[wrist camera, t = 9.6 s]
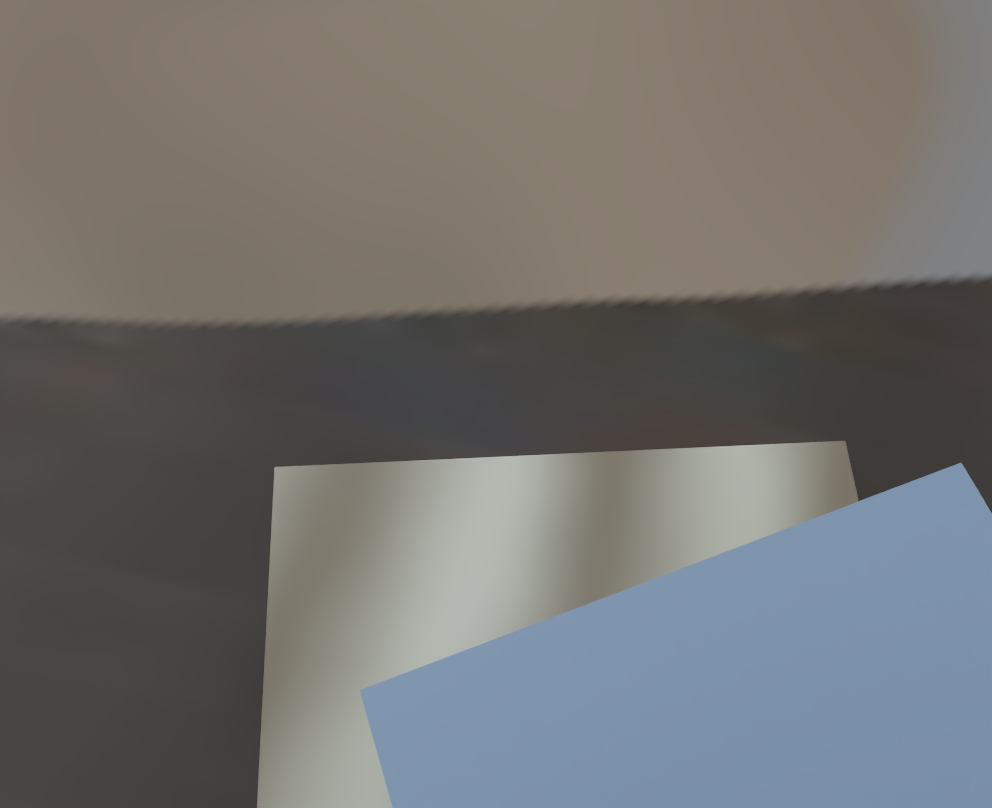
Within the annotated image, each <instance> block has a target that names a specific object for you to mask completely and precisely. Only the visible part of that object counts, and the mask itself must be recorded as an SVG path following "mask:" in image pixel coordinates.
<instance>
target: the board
mask: <svg viewBox="0 0 992 808" xmlns="http://www.w3.org/2000/svg"><path fill="white" fill-rule="evenodd" d="M856 502H859V501H858V496H857V492H856V487H855V483H854V478H853V474H852V469H851V465H850V461H849V456H848V452H847V447H846V443H845V441H832V442H810V443H789V444H767V445H745V446H723V447H702V448H680V449H658V450H637V451H615V452H593V453H572V454H550V455H528V456H506V457H485V458H463V459H441V460H420V461H398V462H376V463H354V464H333V465H311V466H289V467H275V471H274V491H273V510H272V529H271V548H270V568H269V587H268V606H267V625H266V645H265V664H264V683H263V702H262V722H261V741H260V760H259V779H258V799H257V808H393V807H392V803H391V800H390V796H389V793H388V789H387V786H386V782H385V779H384V775H383V771H382V768H381V764H380V761H379V757H378V754H377V750H376V747H375V743H374V739H373V736H372V732H371V729H370V725H369V722H368V718H367V715H366V711H365V707H364V704H363V700H362V697H361V693H360V690H361V689H364V688H367V687H369V686H372V685H375V684H377V683H380V682H383V681H385V680H388V679H390V678H393V677H396V676H398V675H401V674H404V673H406V672H409V671H412V670H414V669H417V668H420V667H422V666H425V665H427V664H430V663H433V662H435V661H438V660H441V659H443V658H446V657H449V656H451V655H454V654H457V653H459V652H462V651H465V650H467V649H470V648H472V647H475V646H478V645H480V644H483V643H486V642H488V641H491V640H494V639H496V638H499V637H502V636H504V635H507V634H509V633H512V632H515V631H517V630H520V629H523V628H525V627H528V626H531V625H533V624H536V623H539V622H541V621H544V620H547V619H549V618H552V617H554V616H557V615H560V614H562V613H565V612H568V611H570V610H573V609H576V608H578V607H581V606H584V605H586V604H589V603H591V602H594V601H597V600H599V599H602V598H605V597H607V596H610V595H613V594H615V593H618V592H621V591H623V590H626V589H629V588H631V587H634V586H636V585H639V584H642V583H644V582H647V581H650V580H652V579H655V578H658V577H660V576H663V575H666V574H668V573H671V572H673V571H676V570H679V569H681V568H684V567H687V566H689V565H692V564H695V563H697V562H700V561H703V560H705V559H708V558H711V557H713V556H716V555H718V554H721V553H724V552H726V551H729V550H732V549H734V548H737V547H740V546H742V545H745V544H748V543H750V542H753V541H755V540H758V539H761V538H763V537H766V536H769V535H771V534H774V533H777V532H779V531H782V530H785V529H787V528H790V527H792V526H795V525H798V524H800V523H803V522H806V521H808V520H811V519H814V518H816V517H819V516H822V515H824V514H827V513H830V512H832V511H835V510H837V509H840V508H843V507H845V506H848V505H851V504H853V503H856Z"/></svg>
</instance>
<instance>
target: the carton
mask: <svg viewBox="0 0 992 808" xmlns="http://www.w3.org/2000/svg"><path fill="white" fill-rule="evenodd" d="M360 693H361V697H362V700H363V704H364V707H365V711H366V715H367V718H368V722H369V725H370V729H371V732H372V736H373V739H374V743H375V747H376V750H377V754H378V757H379V761H380V764H381V768H382V771H383V775H384V779H385V782H386V786H387V789H388V793H389V796H390V800H391V803H392V807H393V808H992V513H991V511H990V510H989V508H988V506H987V505H986V503H985V501H984V500H983V498H982V496H981V495H980V493H979V491H978V490H977V488H976V486H975V485H974V483H973V481H972V480H971V478H970V476H969V475H968V473H967V471H966V470H965V468H964V466H963V465H962V463H959V464H956V465H954V466H951V467H949V468H946V469H943V470H941V471H938V472H935V473H933V474H930V475H927V476H925V477H922V478H919V479H917V480H914V481H912V482H909V483H906V484H904V485H901V486H898V487H896V488H893V489H890V490H888V491H885V492H882V493H880V494H877V495H874V496H872V497H869V498H867V499H864V500H861V501H859V502H856V503H853V504H851V505H848V506H845V507H843V508H840V509H837V510H835V511H832V512H830V513H827V514H824V515H822V516H819V517H816V518H814V519H811V520H808V521H806V522H803V523H800V524H798V525H795V526H792V527H790V528H787V529H785V530H782V531H779V532H777V533H774V534H771V535H769V536H766V537H763V538H761V539H758V540H755V541H753V542H750V543H748V544H745V545H742V546H740V547H737V548H734V549H732V550H729V551H726V552H724V553H721V554H718V555H716V556H713V557H711V558H708V559H705V560H703V561H700V562H697V563H695V564H692V565H689V566H687V567H684V568H681V569H679V570H676V571H673V572H671V573H668V574H666V575H663V576H660V577H658V578H655V579H652V580H650V581H647V582H644V583H642V584H639V585H636V586H634V587H631V588H629V589H626V590H623V591H621V592H618V593H615V594H613V595H610V596H607V597H605V598H602V599H599V600H597V601H594V602H591V603H589V604H586V605H584V606H581V607H578V608H576V609H573V610H570V611H568V612H565V613H562V614H560V615H557V616H554V617H552V618H549V619H547V620H544V621H541V622H539V623H536V624H533V625H531V626H528V627H525V628H523V629H520V630H517V631H515V632H512V633H509V634H507V635H504V636H502V637H499V638H496V639H494V640H491V641H488V642H486V643H483V644H480V645H478V646H475V647H472V648H470V649H467V650H465V651H462V652H459V653H457V654H454V655H451V656H449V657H446V658H443V659H441V660H438V661H435V662H433V663H430V664H427V665H425V666H422V667H420V668H417V669H414V670H412V671H409V672H406V673H404V674H401V675H398V676H396V677H393V678H390V679H388V680H385V681H383V682H380V683H377V684H375V685H372V686H369V687H367V688H364V689H361V690H360Z"/></svg>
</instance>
